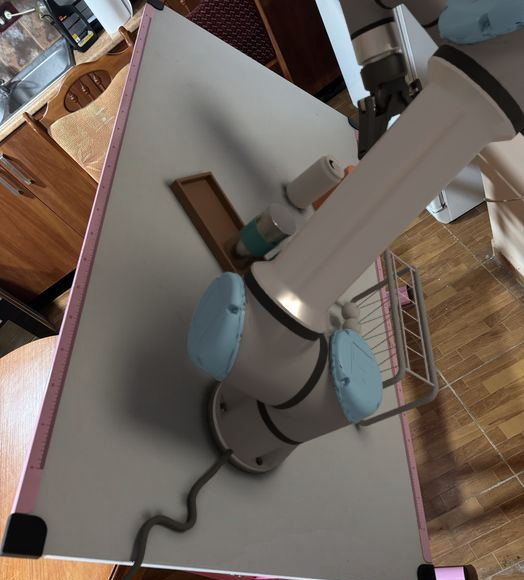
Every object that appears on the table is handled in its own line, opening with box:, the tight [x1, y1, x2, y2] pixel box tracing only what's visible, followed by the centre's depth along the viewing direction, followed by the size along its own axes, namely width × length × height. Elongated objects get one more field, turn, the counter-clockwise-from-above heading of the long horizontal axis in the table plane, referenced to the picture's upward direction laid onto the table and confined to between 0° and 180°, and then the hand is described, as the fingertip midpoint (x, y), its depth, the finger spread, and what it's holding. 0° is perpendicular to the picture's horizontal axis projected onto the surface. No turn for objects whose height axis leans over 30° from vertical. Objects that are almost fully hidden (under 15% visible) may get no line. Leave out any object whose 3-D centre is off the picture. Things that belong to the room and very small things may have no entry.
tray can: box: [224, 202, 297, 270], centre depth 96 cm, size 6×6×12 cm
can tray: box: [169, 171, 268, 277], centre depth 99 cm, size 10×27×2 cm, turn 47°
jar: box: [312, 164, 356, 212], centre depth 127 cm, size 7×7×11 cm
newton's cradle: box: [324, 246, 440, 427], centre depth 104 cm, size 30×10×18 cm, turn 178°
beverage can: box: [286, 153, 344, 210], centre depth 119 cm, size 6×6×12 cm
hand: (414, 183), depth 100 cm, fingers open, 13 cm apart
